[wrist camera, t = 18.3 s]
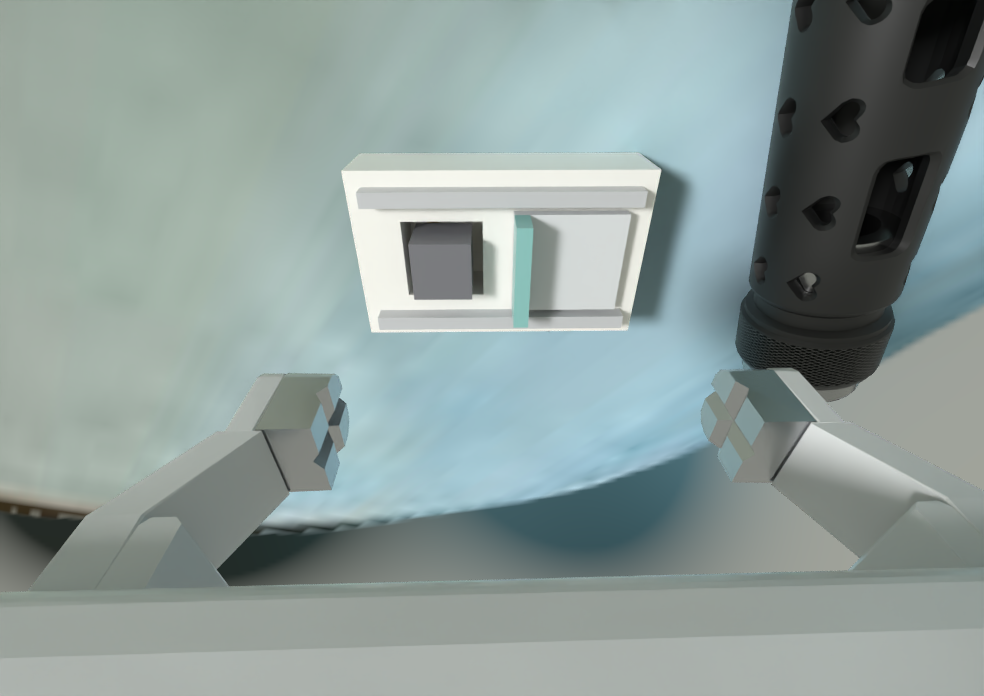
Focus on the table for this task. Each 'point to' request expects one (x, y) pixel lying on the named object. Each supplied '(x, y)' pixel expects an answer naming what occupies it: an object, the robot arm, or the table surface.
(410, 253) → the plug
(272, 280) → the table surface
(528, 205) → the socket box
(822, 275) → the muzzle brake
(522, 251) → the shutter
